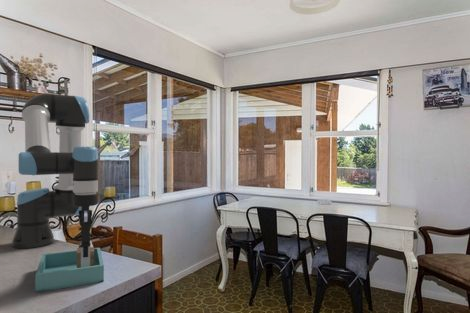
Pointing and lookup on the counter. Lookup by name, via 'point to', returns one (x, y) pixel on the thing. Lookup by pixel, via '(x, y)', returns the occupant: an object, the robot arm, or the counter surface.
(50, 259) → the tote
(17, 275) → the counter surface
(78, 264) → the walnut cube
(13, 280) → the counter surface
